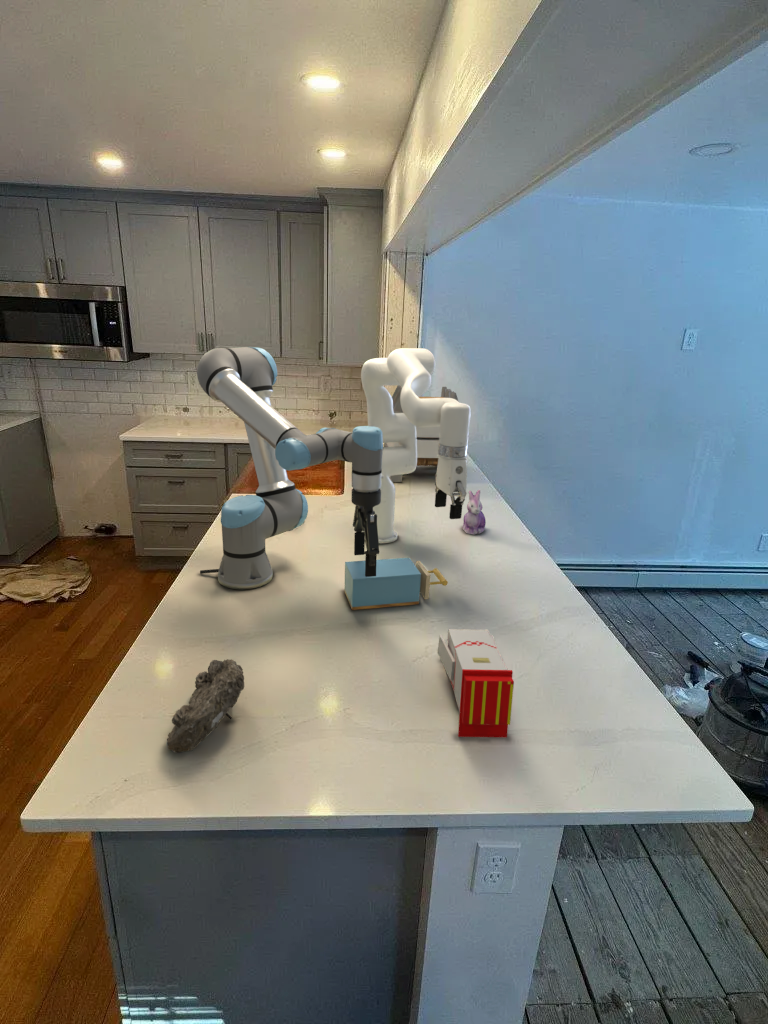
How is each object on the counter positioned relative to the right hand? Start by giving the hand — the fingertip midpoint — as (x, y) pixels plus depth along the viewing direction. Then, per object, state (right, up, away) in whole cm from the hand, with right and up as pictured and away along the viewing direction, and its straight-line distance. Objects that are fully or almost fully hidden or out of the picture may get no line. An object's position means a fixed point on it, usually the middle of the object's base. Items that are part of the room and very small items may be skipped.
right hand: (447, 512), depth 154 cm
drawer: (-12, -22, +3) cm, 25 cm away
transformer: (0, +19, +121) cm, 123 cm away
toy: (+1, -37, -35) cm, 51 cm away
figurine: (+15, -7, +52) cm, 55 cm away
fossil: (-50, -39, -46) cm, 78 cm away
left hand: (-22, -14, -3) cm, 27 cm away
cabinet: (-18, -23, +2) cm, 30 cm away
